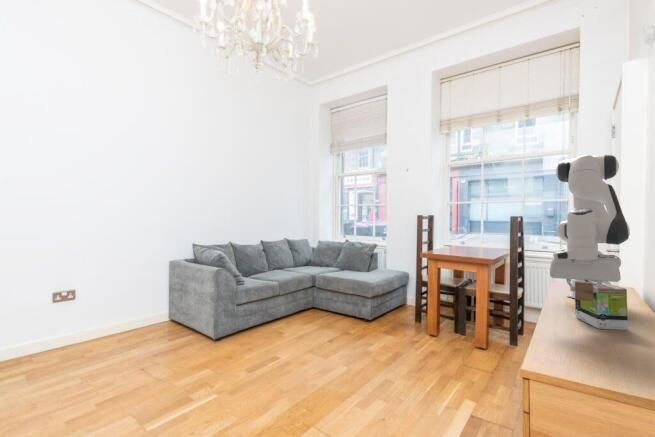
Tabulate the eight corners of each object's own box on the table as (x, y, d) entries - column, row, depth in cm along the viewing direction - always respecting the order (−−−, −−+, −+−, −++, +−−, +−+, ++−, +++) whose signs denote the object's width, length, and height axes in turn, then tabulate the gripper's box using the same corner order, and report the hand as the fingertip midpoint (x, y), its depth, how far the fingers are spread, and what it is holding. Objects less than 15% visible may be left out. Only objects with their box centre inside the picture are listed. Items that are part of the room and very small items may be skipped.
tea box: (629, 330, 115) (628, 288, 115) (596, 329, 117) (595, 288, 117) (603, 318, 130) (601, 280, 130) (574, 317, 132) (573, 280, 132)
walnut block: (575, 296, 123) (575, 280, 123) (592, 298, 120) (592, 282, 120) (575, 299, 119) (575, 283, 119) (593, 301, 116) (593, 284, 116)
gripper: (619, 253, 115) (620, 292, 115) (549, 252, 127) (550, 287, 127) (622, 256, 110) (623, 296, 110) (548, 254, 122) (550, 291, 122)
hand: (583, 291), depth 119 cm, fingers closed on walnut block, 5 cm apart
